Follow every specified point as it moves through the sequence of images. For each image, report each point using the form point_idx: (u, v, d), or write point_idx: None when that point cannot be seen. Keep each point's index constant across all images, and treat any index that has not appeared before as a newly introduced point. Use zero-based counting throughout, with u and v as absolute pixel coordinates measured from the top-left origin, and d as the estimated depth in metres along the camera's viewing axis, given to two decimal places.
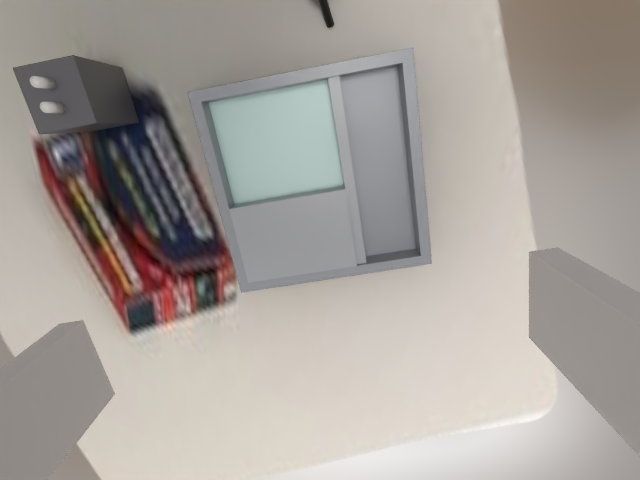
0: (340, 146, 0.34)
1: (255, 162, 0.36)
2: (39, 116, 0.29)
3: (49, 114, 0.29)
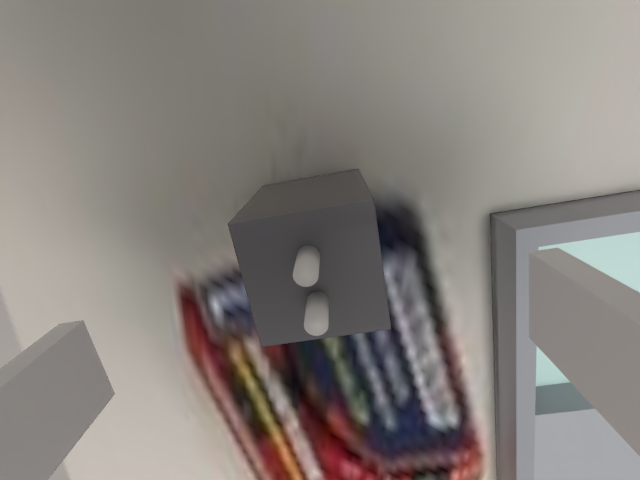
0: None
1: None
2: (269, 315, 0.13)
3: (291, 312, 0.13)
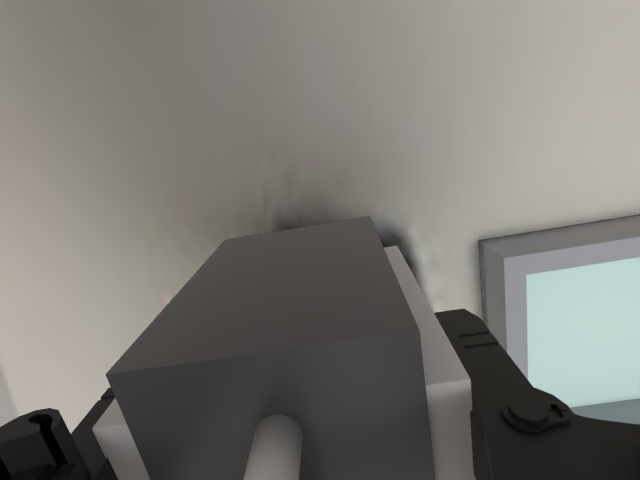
0: None
1: (565, 353, 0.20)
2: None
3: None
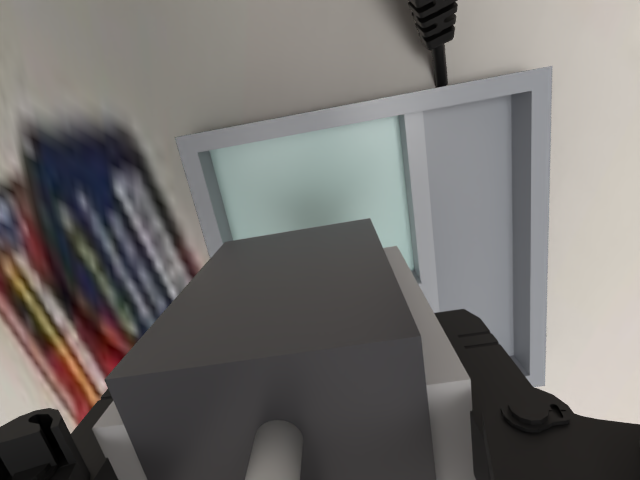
0: (417, 219, 0.21)
1: None
2: None
3: None
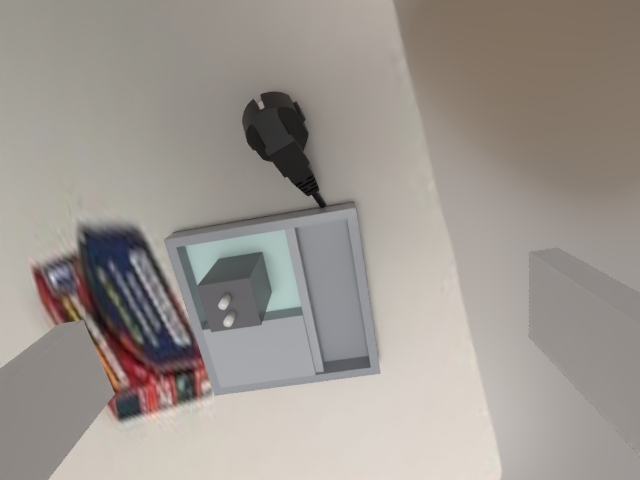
0: (297, 280, 0.39)
1: None
2: (213, 320, 0.35)
3: (222, 318, 0.35)
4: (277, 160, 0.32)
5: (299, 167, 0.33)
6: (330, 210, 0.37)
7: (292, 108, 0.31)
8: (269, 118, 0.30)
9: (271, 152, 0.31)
